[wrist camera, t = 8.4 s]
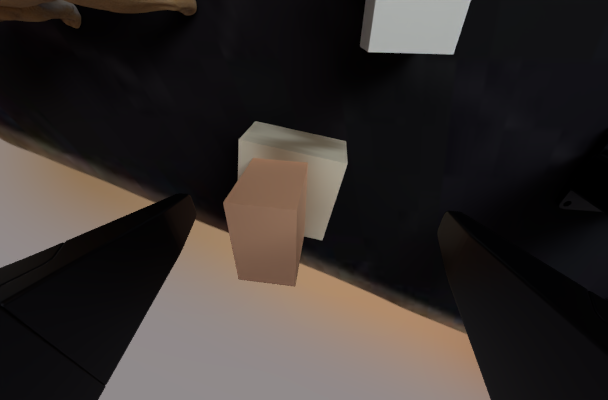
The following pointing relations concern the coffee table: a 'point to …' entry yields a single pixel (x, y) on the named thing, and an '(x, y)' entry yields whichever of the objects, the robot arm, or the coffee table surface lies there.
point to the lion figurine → (60, 4)
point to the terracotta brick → (268, 220)
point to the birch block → (301, 148)
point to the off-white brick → (412, 25)
